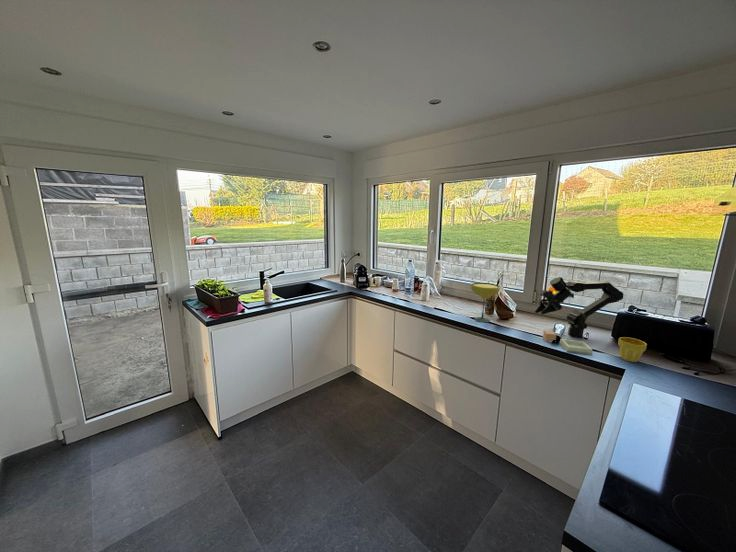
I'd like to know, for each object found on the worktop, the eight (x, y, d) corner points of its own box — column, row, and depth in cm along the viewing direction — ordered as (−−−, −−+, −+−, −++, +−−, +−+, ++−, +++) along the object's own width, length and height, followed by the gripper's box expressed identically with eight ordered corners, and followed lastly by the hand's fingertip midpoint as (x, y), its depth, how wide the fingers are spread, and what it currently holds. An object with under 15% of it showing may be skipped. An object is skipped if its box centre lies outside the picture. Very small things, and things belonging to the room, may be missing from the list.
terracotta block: (552, 339, 169) (553, 331, 168) (555, 342, 164) (556, 334, 163) (542, 338, 170) (543, 330, 169) (545, 341, 166) (546, 333, 165)
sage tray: (582, 346, 160) (583, 341, 159) (591, 354, 149) (592, 349, 149) (559, 343, 163) (560, 338, 162) (567, 352, 152) (568, 346, 152)
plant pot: (637, 365, 138) (641, 346, 137) (611, 356, 147) (615, 339, 146) (647, 361, 143) (650, 343, 141) (621, 353, 152) (624, 335, 150)
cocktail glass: (479, 314, 213) (482, 281, 209) (501, 321, 198) (505, 286, 194) (463, 318, 204) (465, 284, 199) (485, 326, 189) (488, 289, 184)
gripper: (543, 286, 180) (523, 301, 182) (557, 285, 162) (534, 303, 164) (556, 300, 179) (535, 315, 180) (571, 301, 160) (548, 318, 162)
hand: (538, 313), depth 172 cm, fingers open, 9 cm apart
